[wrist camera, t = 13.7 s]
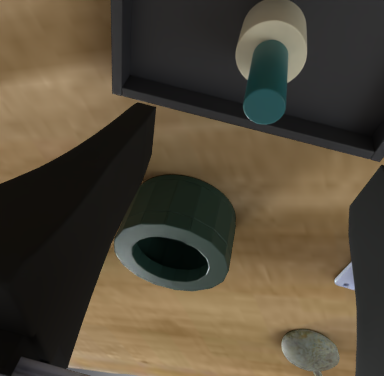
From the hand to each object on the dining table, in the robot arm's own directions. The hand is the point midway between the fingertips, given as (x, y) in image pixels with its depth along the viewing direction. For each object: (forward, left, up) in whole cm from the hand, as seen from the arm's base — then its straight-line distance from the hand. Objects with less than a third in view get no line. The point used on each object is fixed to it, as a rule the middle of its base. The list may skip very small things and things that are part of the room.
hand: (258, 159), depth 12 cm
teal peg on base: (0, 0, -10) cm, 10 cm away
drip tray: (0, 0, -10) cm, 10 cm away
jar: (+2, +17, -10) cm, 20 cm away
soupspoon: (-20, +42, -11) cm, 47 cm away
